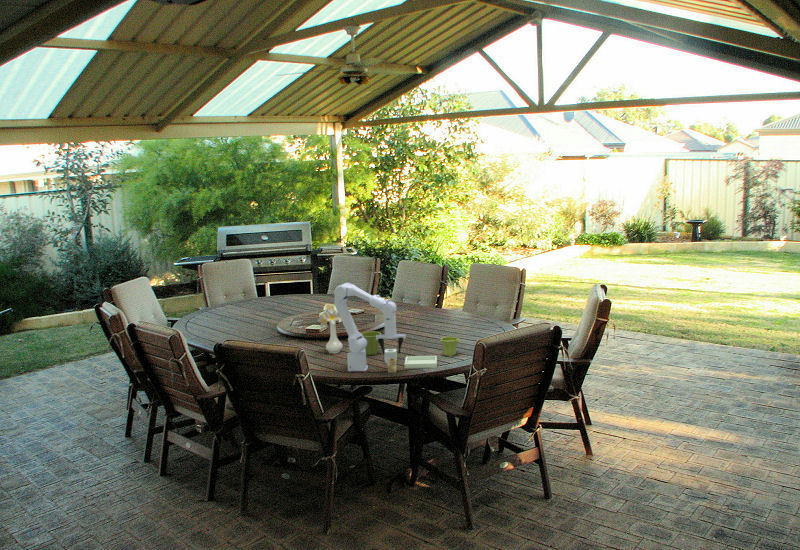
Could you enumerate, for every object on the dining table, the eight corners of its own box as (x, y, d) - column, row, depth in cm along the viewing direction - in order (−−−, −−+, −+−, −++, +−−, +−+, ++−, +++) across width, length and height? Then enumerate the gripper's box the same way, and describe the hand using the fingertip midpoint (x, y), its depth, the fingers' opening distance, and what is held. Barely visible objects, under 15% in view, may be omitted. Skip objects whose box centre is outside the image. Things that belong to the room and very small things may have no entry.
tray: (404, 369, 313) (404, 364, 313) (406, 361, 327) (406, 356, 327) (436, 368, 312) (436, 363, 312) (436, 360, 326) (436, 355, 326)
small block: (388, 372, 309) (387, 360, 308) (388, 370, 313) (388, 358, 312) (396, 372, 309) (395, 360, 308) (396, 370, 313) (396, 358, 312)
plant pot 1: (379, 356, 337) (378, 336, 336) (358, 356, 340) (356, 336, 338) (384, 350, 349) (383, 331, 347) (363, 350, 351) (362, 331, 349)
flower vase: (316, 356, 343) (313, 311, 340) (331, 347, 360) (328, 305, 357) (337, 357, 339) (335, 312, 335) (352, 348, 356) (349, 305, 352)
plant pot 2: (456, 351, 341) (455, 336, 339) (460, 356, 332) (460, 340, 330) (439, 353, 339) (439, 337, 338) (443, 357, 330) (442, 341, 329)
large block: (384, 363, 325) (384, 352, 324) (385, 360, 331) (385, 349, 330) (396, 363, 324) (395, 351, 324) (397, 359, 330) (396, 348, 329)
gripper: (374, 328, 304) (376, 355, 306) (404, 327, 303) (405, 355, 305) (376, 325, 311) (377, 352, 313) (405, 324, 310) (406, 351, 312)
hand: (391, 353), depth 309 cm, fingers open, 7 cm apart
